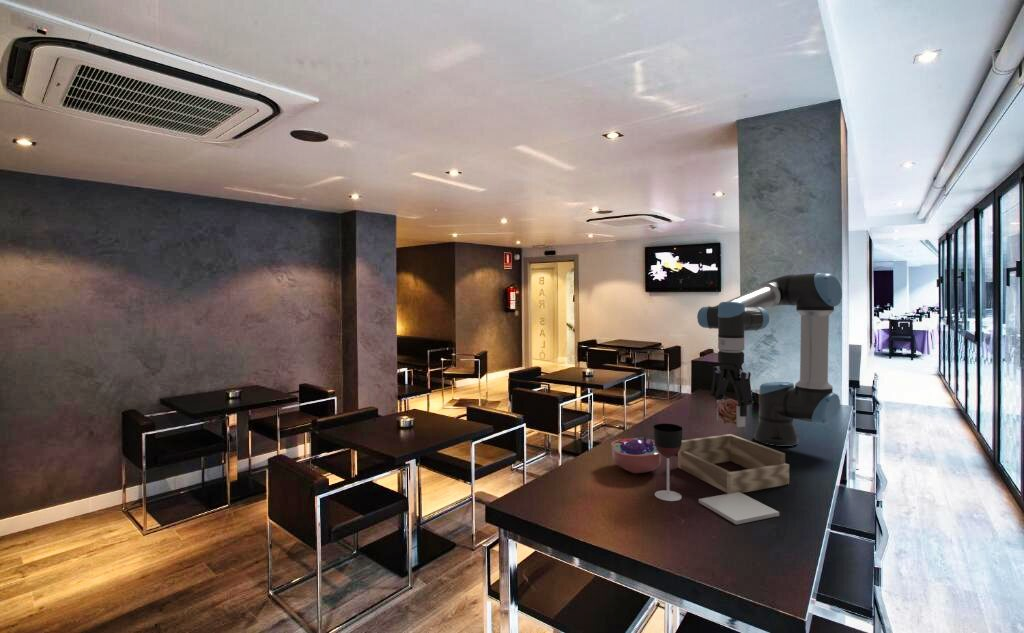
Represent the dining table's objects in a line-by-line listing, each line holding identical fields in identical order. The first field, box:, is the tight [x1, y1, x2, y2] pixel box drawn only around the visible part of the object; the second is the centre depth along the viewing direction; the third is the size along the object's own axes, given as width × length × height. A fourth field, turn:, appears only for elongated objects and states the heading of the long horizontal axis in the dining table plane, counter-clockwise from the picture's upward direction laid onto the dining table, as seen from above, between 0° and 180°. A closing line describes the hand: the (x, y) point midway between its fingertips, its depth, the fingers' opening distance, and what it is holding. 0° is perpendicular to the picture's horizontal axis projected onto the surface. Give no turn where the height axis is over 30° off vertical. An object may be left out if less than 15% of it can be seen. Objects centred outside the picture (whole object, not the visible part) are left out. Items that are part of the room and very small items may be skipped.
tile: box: [698, 492, 780, 525], centre depth 131 cm, size 14×14×1 cm
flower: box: [716, 397, 747, 425], centre depth 153 cm, size 9×9×7 cm
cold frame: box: [677, 433, 790, 494], centre depth 155 cm, size 22×24×9 cm
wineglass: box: [653, 423, 683, 502], centre depth 141 cm, size 8×9×20 cm
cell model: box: [610, 437, 663, 474], centre depth 162 cm, size 17×20×11 cm
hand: (730, 422), depth 153 cm, fingers closed on flower, 8 cm apart
